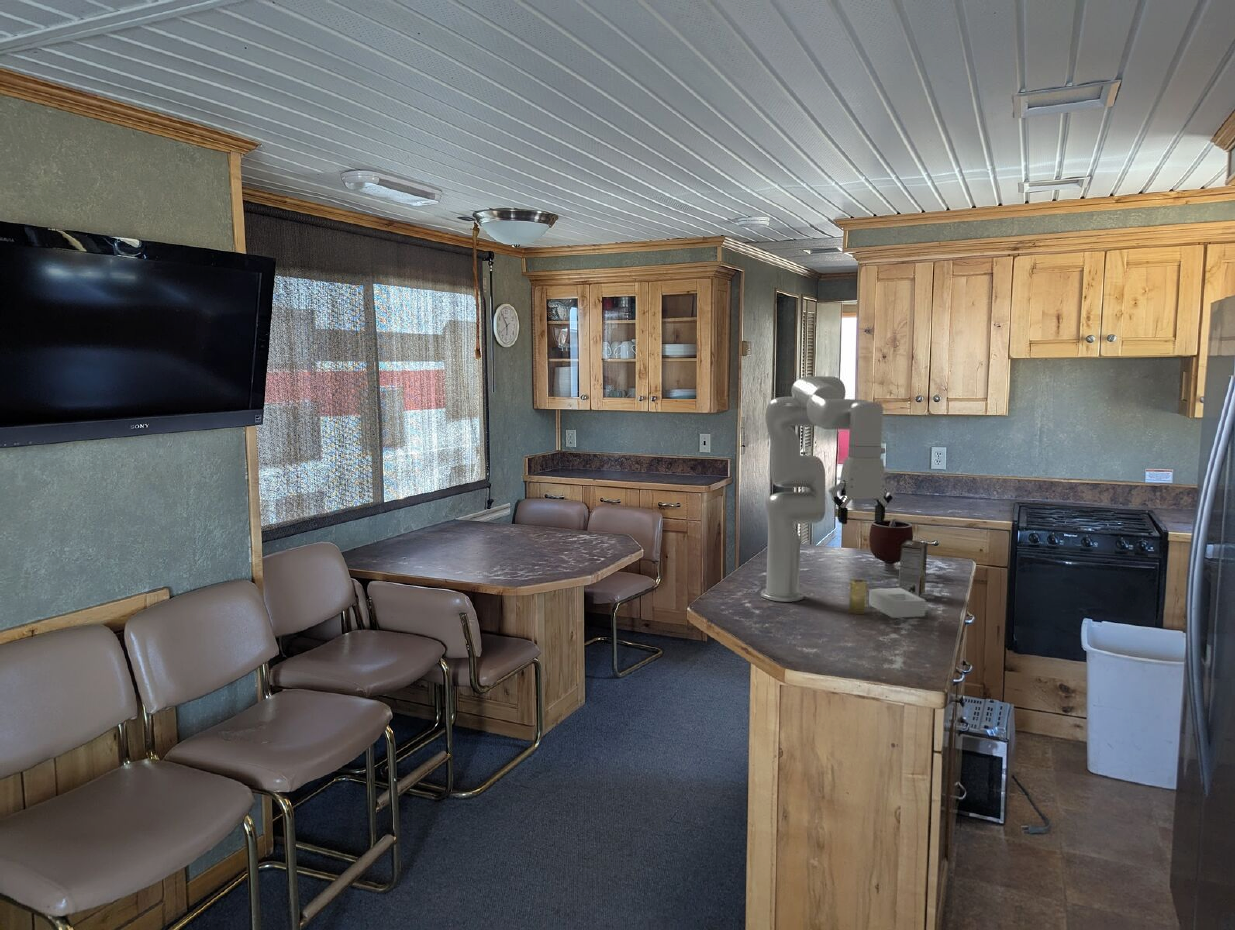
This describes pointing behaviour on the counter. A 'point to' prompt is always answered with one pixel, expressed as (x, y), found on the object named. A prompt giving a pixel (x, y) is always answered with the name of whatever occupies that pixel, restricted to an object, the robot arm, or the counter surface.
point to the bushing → (857, 596)
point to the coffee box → (913, 567)
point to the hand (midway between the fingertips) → (860, 522)
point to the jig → (897, 602)
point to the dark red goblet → (888, 545)
